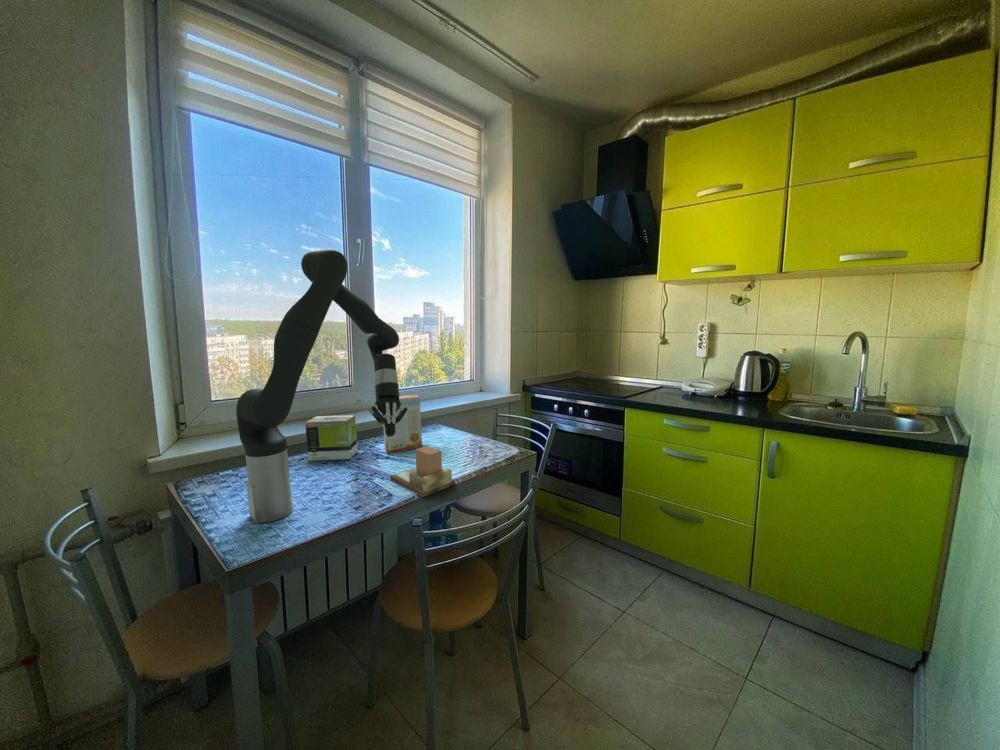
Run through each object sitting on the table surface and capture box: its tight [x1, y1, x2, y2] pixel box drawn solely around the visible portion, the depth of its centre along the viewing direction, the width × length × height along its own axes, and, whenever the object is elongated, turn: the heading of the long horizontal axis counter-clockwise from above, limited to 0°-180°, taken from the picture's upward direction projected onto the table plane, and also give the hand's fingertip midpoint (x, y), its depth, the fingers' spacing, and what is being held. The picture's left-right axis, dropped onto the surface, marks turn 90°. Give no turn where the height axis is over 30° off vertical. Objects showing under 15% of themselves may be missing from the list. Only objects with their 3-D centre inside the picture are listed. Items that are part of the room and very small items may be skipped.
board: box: [389, 467, 456, 498], centre depth 120 cm, size 12×18×5 cm, turn 45°
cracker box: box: [382, 394, 423, 453], centre depth 151 cm, size 14×6×21 cm, turn 114°
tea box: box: [304, 414, 358, 461], centre depth 143 cm, size 15×10×15 cm, turn 94°
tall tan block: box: [415, 445, 443, 477], centre depth 117 cm, size 4×7×10 cm, turn 45°
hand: (390, 436), depth 122 cm, fingers closed
